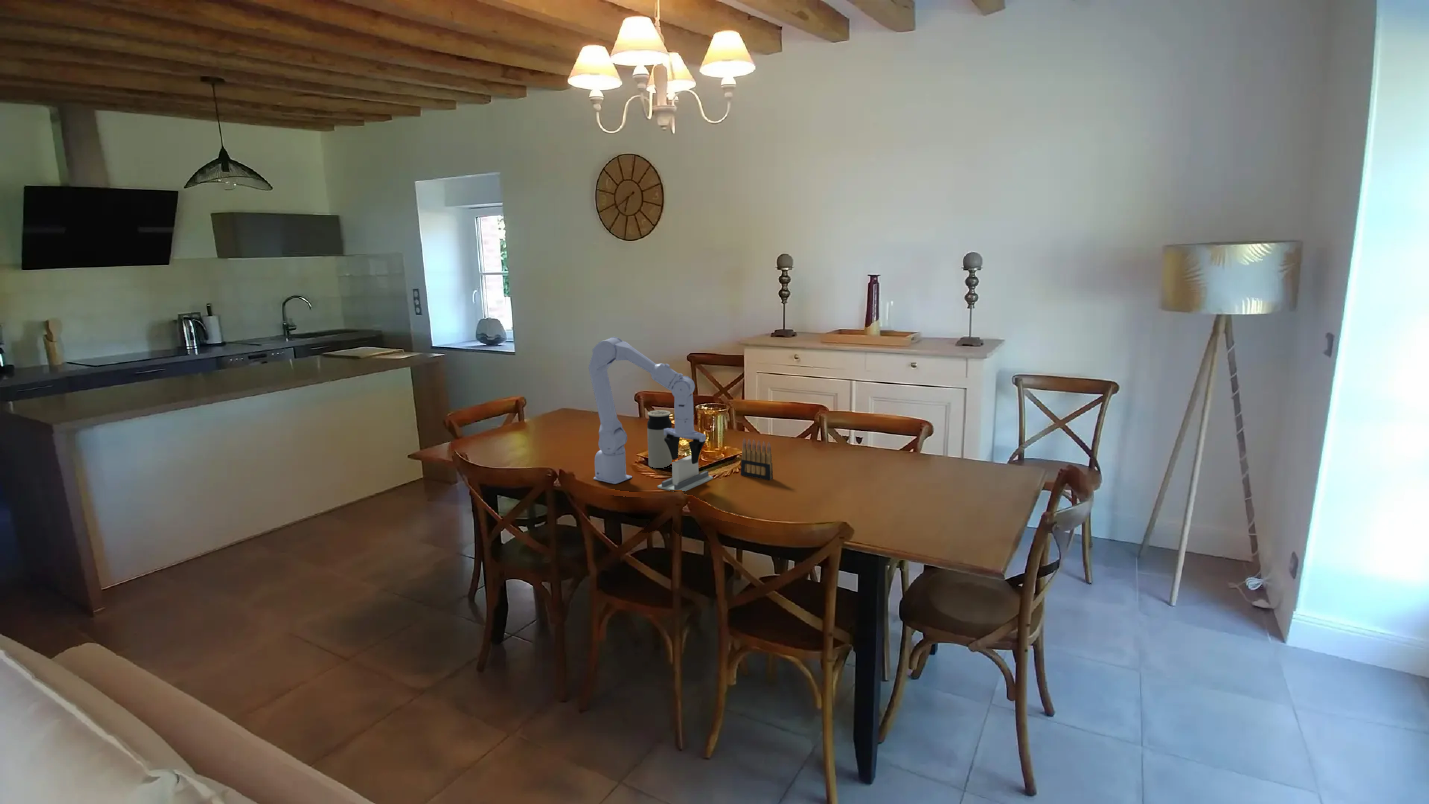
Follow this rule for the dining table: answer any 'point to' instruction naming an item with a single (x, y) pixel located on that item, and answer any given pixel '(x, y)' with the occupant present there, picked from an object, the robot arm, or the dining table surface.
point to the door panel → (683, 469)
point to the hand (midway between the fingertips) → (684, 461)
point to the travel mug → (658, 439)
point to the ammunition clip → (756, 460)
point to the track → (686, 482)
